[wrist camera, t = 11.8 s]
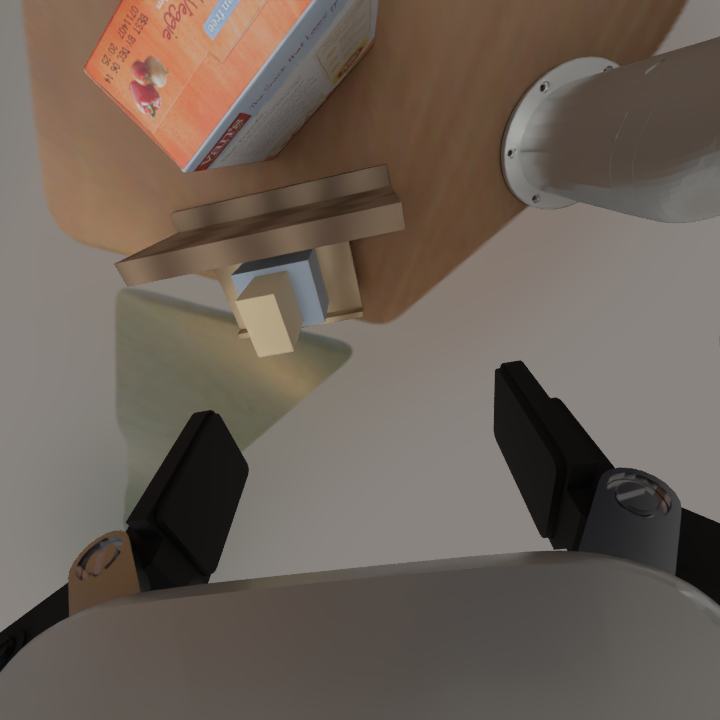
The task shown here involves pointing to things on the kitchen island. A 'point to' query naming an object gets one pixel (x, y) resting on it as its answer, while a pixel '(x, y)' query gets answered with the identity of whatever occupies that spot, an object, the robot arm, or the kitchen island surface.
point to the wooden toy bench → (278, 235)
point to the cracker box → (228, 71)
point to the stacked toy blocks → (280, 299)
